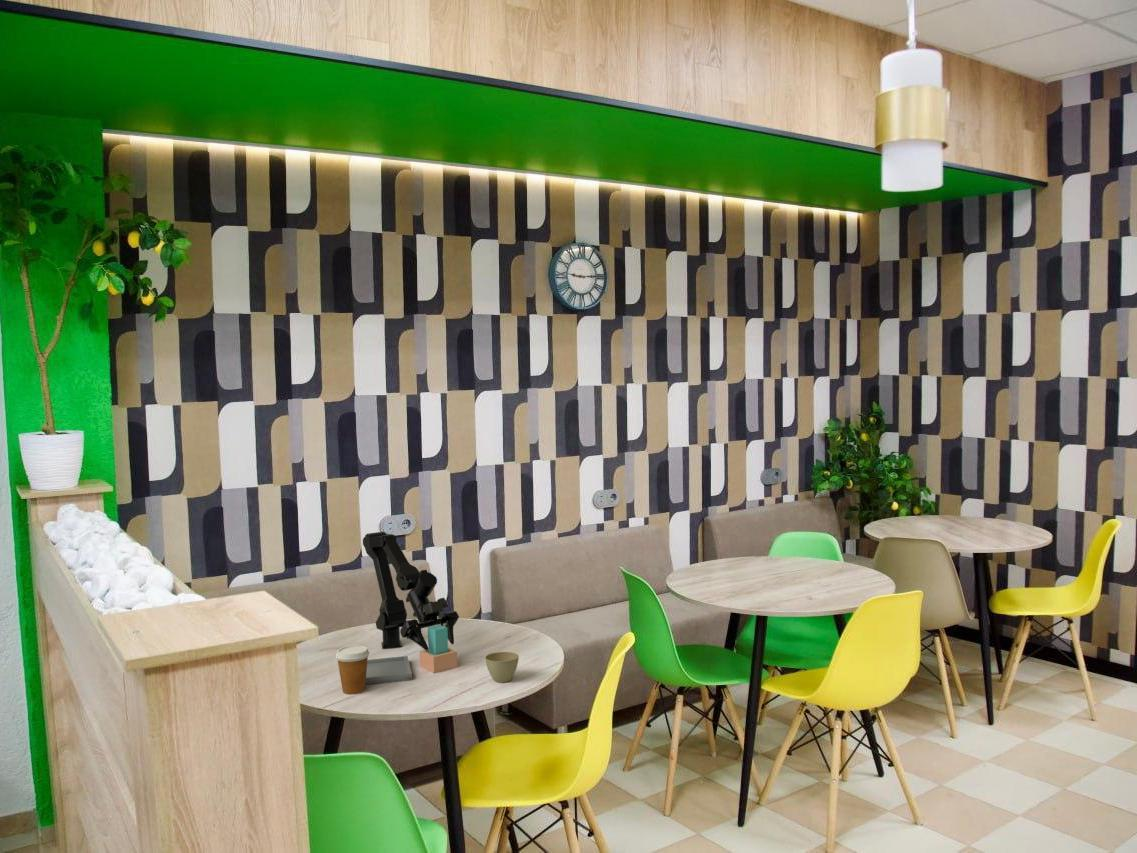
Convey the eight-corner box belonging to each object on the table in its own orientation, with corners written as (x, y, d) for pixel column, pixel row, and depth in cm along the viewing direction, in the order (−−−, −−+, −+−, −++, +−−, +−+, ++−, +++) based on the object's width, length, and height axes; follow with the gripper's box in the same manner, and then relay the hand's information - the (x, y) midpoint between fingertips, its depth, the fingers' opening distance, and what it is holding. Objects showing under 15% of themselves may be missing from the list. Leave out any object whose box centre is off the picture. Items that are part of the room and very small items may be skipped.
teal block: (429, 666, 285) (427, 627, 285) (441, 663, 288) (440, 624, 287) (436, 670, 282) (435, 630, 281) (448, 667, 285) (447, 627, 284)
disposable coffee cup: (362, 697, 259) (360, 655, 259) (331, 695, 261) (329, 654, 261) (375, 685, 269) (374, 645, 268) (345, 684, 271) (344, 644, 270)
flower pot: (526, 678, 273) (525, 654, 272) (505, 687, 265) (504, 663, 264) (499, 672, 278) (499, 649, 278) (478, 681, 270) (478, 658, 270)
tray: (356, 667, 287) (355, 660, 287) (407, 662, 290) (407, 655, 290) (357, 685, 269) (356, 679, 269) (412, 680, 273) (411, 673, 273)
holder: (420, 666, 286) (419, 651, 285) (443, 661, 291) (442, 645, 291) (433, 673, 279) (433, 657, 279) (457, 667, 284) (456, 651, 284)
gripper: (403, 595, 281) (422, 638, 273) (455, 585, 293) (475, 626, 285) (392, 616, 287) (410, 658, 279) (443, 605, 299) (462, 646, 291)
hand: (440, 646), depth 283 cm, fingers open, 9 cm apart
